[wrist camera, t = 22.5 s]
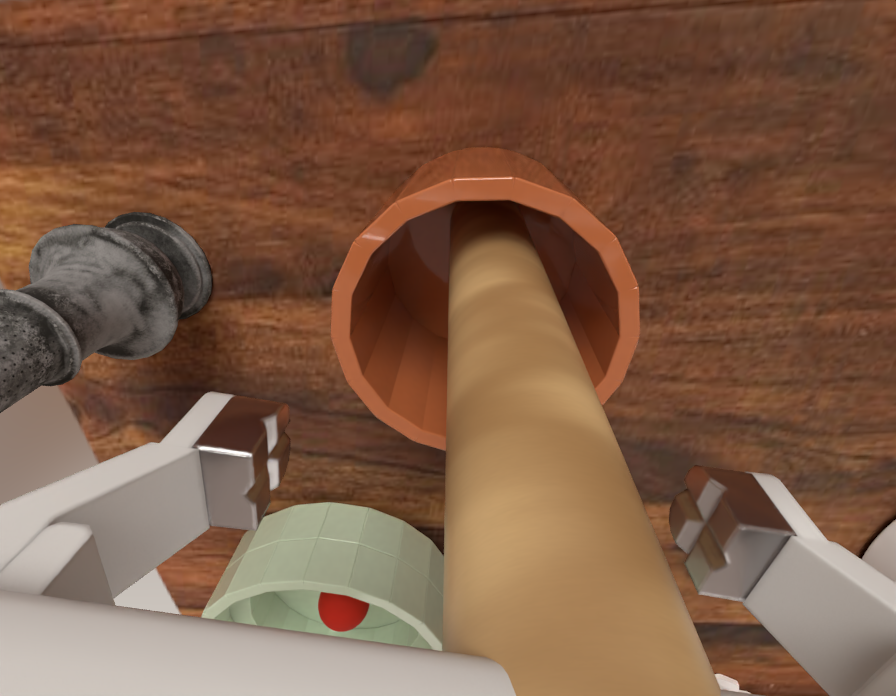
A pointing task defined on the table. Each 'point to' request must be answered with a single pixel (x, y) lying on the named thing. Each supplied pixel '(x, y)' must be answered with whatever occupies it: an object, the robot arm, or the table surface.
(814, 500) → the table surface
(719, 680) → the cup
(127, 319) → the grey chess piece
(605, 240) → the crock
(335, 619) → the ball
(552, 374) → the stick
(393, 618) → the bowl
